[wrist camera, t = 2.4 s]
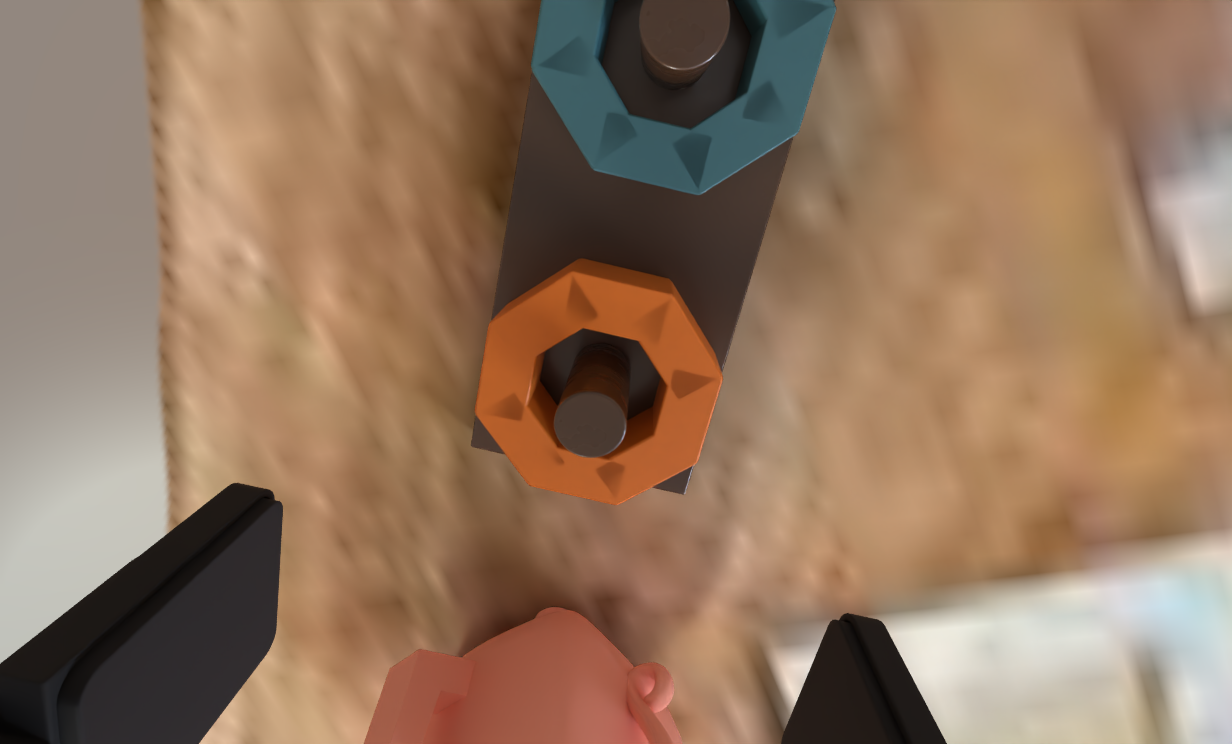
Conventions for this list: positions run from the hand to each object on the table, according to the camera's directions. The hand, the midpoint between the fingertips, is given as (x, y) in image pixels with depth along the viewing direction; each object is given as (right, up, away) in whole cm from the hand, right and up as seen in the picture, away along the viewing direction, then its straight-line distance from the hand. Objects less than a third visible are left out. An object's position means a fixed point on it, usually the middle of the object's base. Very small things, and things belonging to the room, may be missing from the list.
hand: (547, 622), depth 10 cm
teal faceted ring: (+3, +13, +7) cm, 16 cm away
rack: (+2, +9, +10) cm, 14 cm away
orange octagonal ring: (+1, +4, +11) cm, 12 cm away
